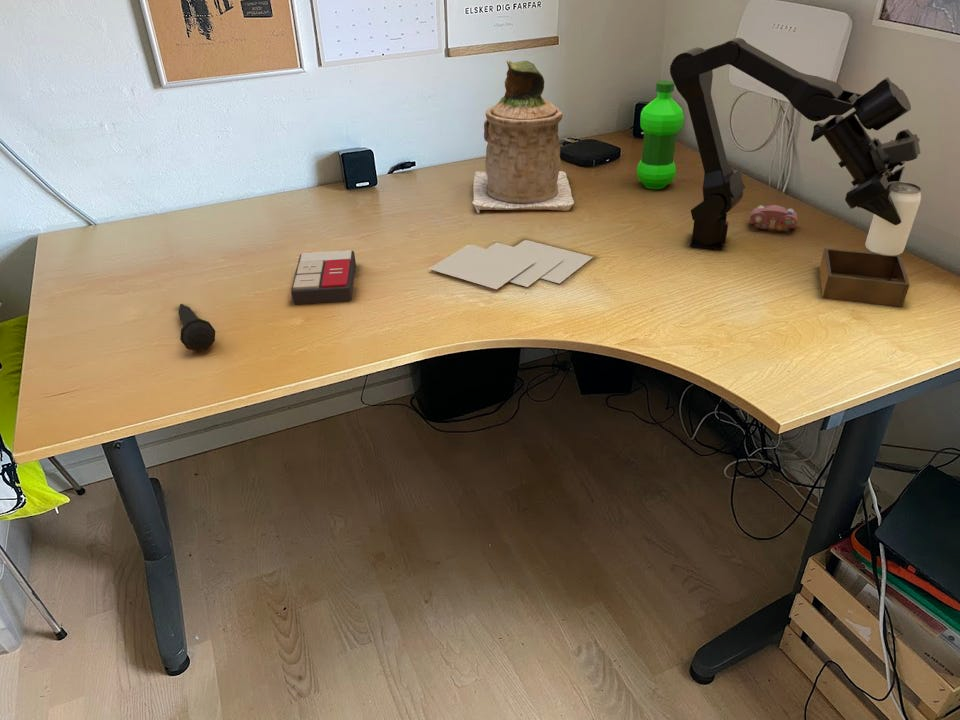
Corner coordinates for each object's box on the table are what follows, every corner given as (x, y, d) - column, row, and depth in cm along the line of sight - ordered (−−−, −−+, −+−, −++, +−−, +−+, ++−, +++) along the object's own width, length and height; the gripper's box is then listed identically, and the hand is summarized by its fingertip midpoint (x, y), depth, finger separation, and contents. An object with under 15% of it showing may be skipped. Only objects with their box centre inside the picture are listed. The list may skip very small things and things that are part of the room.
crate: (822, 297, 132) (828, 275, 130) (819, 268, 142) (824, 248, 139) (902, 307, 128) (909, 284, 126) (893, 277, 138) (900, 255, 135)
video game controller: (746, 233, 160) (750, 212, 154) (749, 218, 162) (753, 196, 156) (793, 239, 157) (799, 217, 151) (796, 223, 159) (802, 201, 153)
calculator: (289, 287, 134) (299, 250, 146) (293, 307, 136) (303, 268, 149) (348, 284, 134) (353, 246, 146) (351, 303, 137) (356, 265, 149)
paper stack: (493, 231, 161) (493, 228, 161) (593, 257, 149) (593, 254, 148) (428, 271, 146) (428, 268, 145) (533, 303, 133) (533, 300, 133)
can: (909, 257, 130) (930, 193, 123) (871, 256, 130) (891, 193, 124) (894, 242, 135) (914, 180, 129) (859, 241, 136) (877, 180, 129)
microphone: (177, 325, 137) (196, 362, 121) (159, 301, 134) (176, 336, 118) (202, 309, 138) (225, 344, 123) (185, 285, 135) (205, 318, 119)
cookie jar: (575, 211, 170) (582, 68, 152) (471, 214, 170) (466, 72, 153) (566, 176, 190) (571, 46, 173) (473, 178, 191) (469, 49, 173)
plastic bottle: (625, 186, 183) (634, 83, 169) (650, 175, 189) (660, 75, 175) (658, 195, 177) (670, 90, 163) (683, 184, 182) (696, 81, 169)
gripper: (886, 131, 116) (940, 211, 116) (909, 105, 128) (958, 177, 129) (823, 170, 124) (874, 244, 125) (850, 142, 136) (896, 209, 137)
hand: (902, 217), depth 129 cm, fingers closed on can, 6 cm apart
